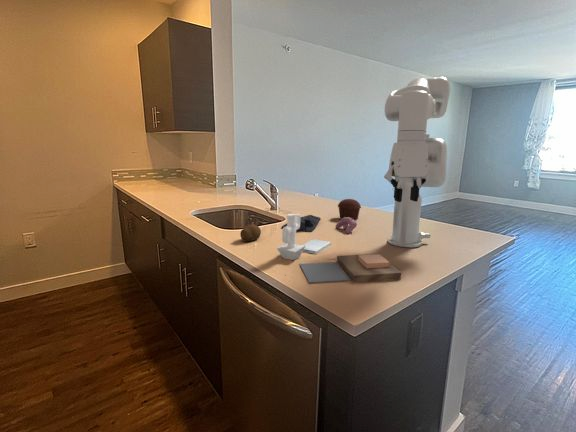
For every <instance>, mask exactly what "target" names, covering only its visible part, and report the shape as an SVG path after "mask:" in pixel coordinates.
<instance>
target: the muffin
mask: <svg viewBox="0 0 576 432" xmlns="http://www.w3.org/2000/svg"><path fill="white" fill-rule="evenodd" d="M337 207H338V211H339V212H338V213H339V219H340V220H341V219H342V218H344V217H350V218H352V219H354V220H355V221H357V220H358V219H359V215H360V210H361V208H362V205H361V203H359V202H358V201H357V200H356V199H354V198H345V199H343V200H341V201H339V202H338V204H337Z"/></svg>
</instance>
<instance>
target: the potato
mask: <svg viewBox="0 0 576 432" xmlns="http://www.w3.org/2000/svg"><path fill="white" fill-rule="evenodd" d="M261 234H262V229H261V227H259V226H258V225H257V224H248V225H246V226H245V227H244V228H242V229H241V231H240V238H241V240H242V241H244V242H251V241H255V240H258V239H259V238H260V236H261Z"/></svg>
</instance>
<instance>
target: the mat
mask: <svg viewBox="0 0 576 432" xmlns="http://www.w3.org/2000/svg"><path fill="white" fill-rule="evenodd" d="M299 266H300V268H301V270H302V272H303V274H304V276H305V277H306V280H307V282H308V284H324V283H325V284H326V283H340V282H341V283H342V282H351V281H352V280H351V278H350V277H349V276H348V275H347V273H346V272H345V271H344V270H343V269H342V267H341V266H340V265H339V264H338V263H337V261H327V262H325V261H324V262H308V263H299Z"/></svg>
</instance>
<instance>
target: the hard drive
mask: <svg viewBox="0 0 576 432" xmlns="http://www.w3.org/2000/svg"><path fill="white" fill-rule="evenodd" d="M302 245H305V248H304V250H303V252H304V253H309V254H312V255H313V254H314V255H317V254H319V253H321V252H322V251H324V250H325V249H327V248H329V246H332V242H331V241H329V240H328V241H326V240H320V239H315V238H312V239H310V240H308V241H306V242H305V243H303V244H302ZM303 252H302V253H303Z"/></svg>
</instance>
